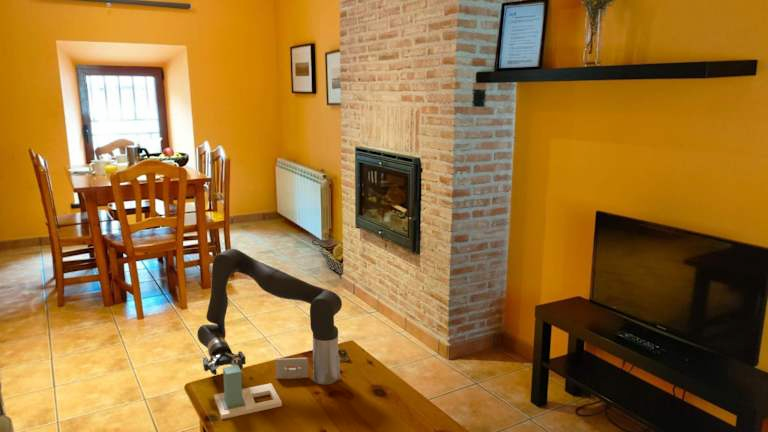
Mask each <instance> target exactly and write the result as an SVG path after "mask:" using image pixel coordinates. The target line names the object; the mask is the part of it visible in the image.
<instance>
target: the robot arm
mask: <svg viewBox="0 0 768 432" xmlns="http://www.w3.org/2000/svg"><path fill="white" fill-rule="evenodd" d="M211 267H212V268H211V270H212V271H211V286H210V287H211V289H210V299H209V303H208V308H207V312H206V315H205V316H206V320H207V322H209V323H210V324H203V325H201V326H200V327H199V328H198V329H197V333H196V334H197V339H198V341H199V343H201V344H202V345H203V346H205V347H206V349H207V352H208V356H209V358H207V357H206V356H205V357H202V363H203V364H202V365H203V371H205V372H208V371H210V372H211V375H214V376H215V375H217V369H218V368H220V367H222V366H223V367H224V366H228V365H229V366H235V365H238V366H239V368H240V370H241V371H242V369H243V368H244V367H243V366H244V365H246V363H247V362H246V356H245V354H244V353H243V352H242V351H238V353H236V354H235V353H234V352H233V351H232V350H231V347H230V345H229V343H228V342H227V341H226V328H225V327H226V323H225V322H226V321H225V320H226V314H227V311H228V305H229V299H228V298H229V297H228V293H227V284H228V281H229V279H230V277H231V275H233V274H235V273H239V274H242V275H244V276H247V277H250V278H251V279H252V280H254V282H256V284H257V285H258V287H259V288H261V289H262V290H263V291H265V292H267V294H271V296H275V297H277V298H280V299H284V300H293V301H299V302H300V301H302V302H303V303H304V302H305V303H307V304H309V305H310V307H309V320H310V321H309V322H310V329H311V331H312V379H313V381H314V383H316V384H318V385H332V384H334V383H336V382H337V381H340V379H341V369H340V368H341V362H340V356H339V355H338V350H339V328H338V327H337V326H336V325H335V316H336V315H337V314H338V313H339V312H340V311H341V309H342V307H343V302H342V299H341V297H340V296H339V294H337V293H336V292H334V291H332V290H329V289H327V288H323V287H319V286H316V285H314V284H311V283H309V282H307V281H305V280H303V279H300V278H297V277H295V276H293V275H291V274H288V273H287V272H284V271H282V270H279V269H277V268H274V267H272V266H270V265H268V264H266V263H263V262H261V261H259V260H257V259H255V258H253V257H251V256H250V255H248V254H246V253H245V252H242V251H241V250H238V249H237V248H228V249H226V250H224V251H221V252H219V253H217V254H216V255H215V256H214V257H213V261H212V266H211ZM211 323H212V324H211Z"/></svg>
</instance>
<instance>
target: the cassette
mask: <svg viewBox="0 0 768 432" xmlns="http://www.w3.org/2000/svg"><path fill="white" fill-rule="evenodd" d="M275 378H276V380H277V379H279V380H280V379H281V380H283V379H285V380H287V379H289V380H290V379H303V378H309V358H308V357H289V358H287V357H286V358H276V359H275Z"/></svg>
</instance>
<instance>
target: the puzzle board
mask: <svg viewBox="0 0 768 432" xmlns="http://www.w3.org/2000/svg"><path fill="white" fill-rule="evenodd" d="M268 395H270V397H271V399H269V400H265V401H260V402H256V401H255V399H254V398H258V397H262V396H268ZM213 399H214V402H215V405H216V407H217V411H218V412H219V416H220V418H221V420H225V419H228V418H229V419H230V418H233V417H238V416H242V415H247V414H252V413H256V412H260V411H266V410H270V409H274V408H275V409H276V408H279V407H283V403H282V400H281V398H280V397H279V395H278V393H277V391H276V389H275V388H274V386H273V384H272V383H271V382H270V383H265V384H260V385H255V386H251V387H246V388H242V404H241V405H237V406H232V407H227V405H226V403H225V400H224V392H220V393H215V394H213Z"/></svg>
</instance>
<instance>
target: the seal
mask: <svg viewBox="0 0 768 432" xmlns="http://www.w3.org/2000/svg"><path fill="white" fill-rule="evenodd" d="M338 355H339V356H340V363H343V362H346V361H349V360H350V356H349V351H348V350H347V349H346V348H338Z"/></svg>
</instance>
